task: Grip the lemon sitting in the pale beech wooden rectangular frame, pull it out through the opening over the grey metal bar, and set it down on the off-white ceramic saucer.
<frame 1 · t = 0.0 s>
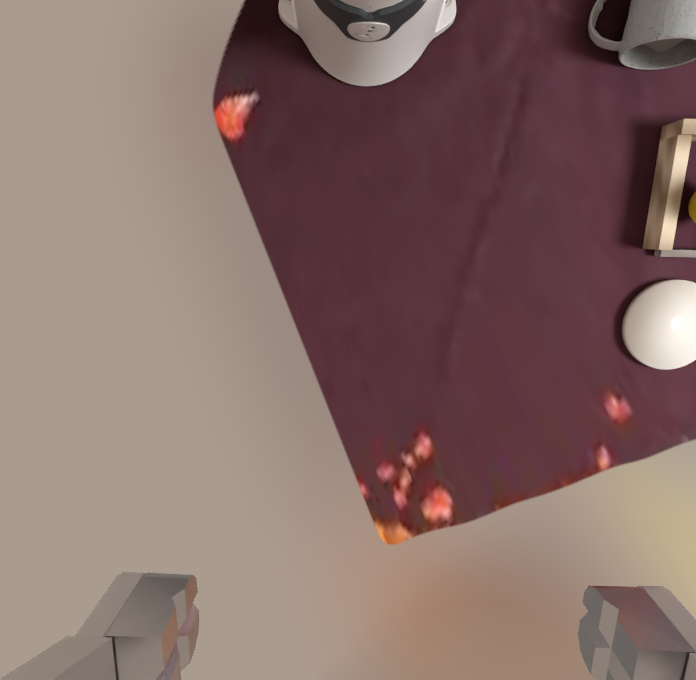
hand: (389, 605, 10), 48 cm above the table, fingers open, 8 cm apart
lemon: (695, 206, 54), resting in wooden rectangular frame
saucer: (666, 324, 57), on the table
ceramic mug: (633, 31, 50), on the table
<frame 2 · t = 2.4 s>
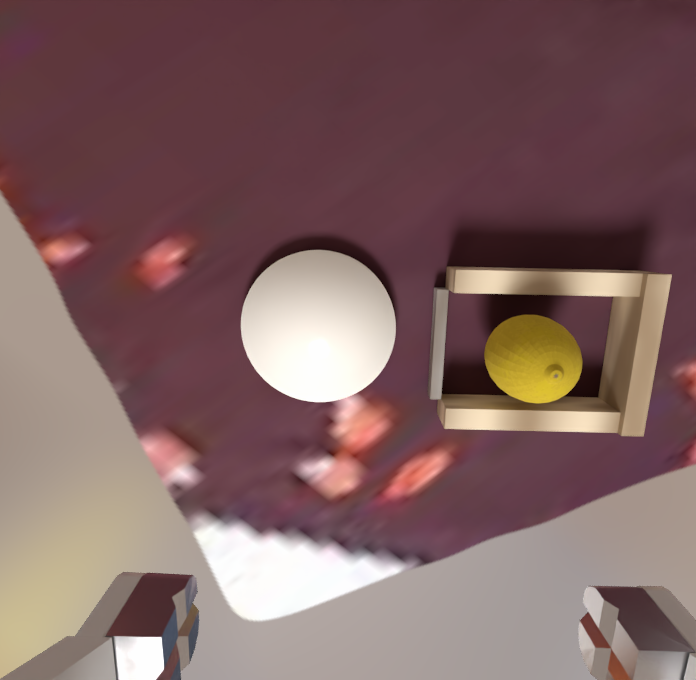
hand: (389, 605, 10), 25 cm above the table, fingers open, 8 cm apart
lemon: (508, 342, 34), resting in wooden rectangular frame
saucer: (319, 326, 34), on the table
wooden rectangular frame: (523, 343, 34), on the table
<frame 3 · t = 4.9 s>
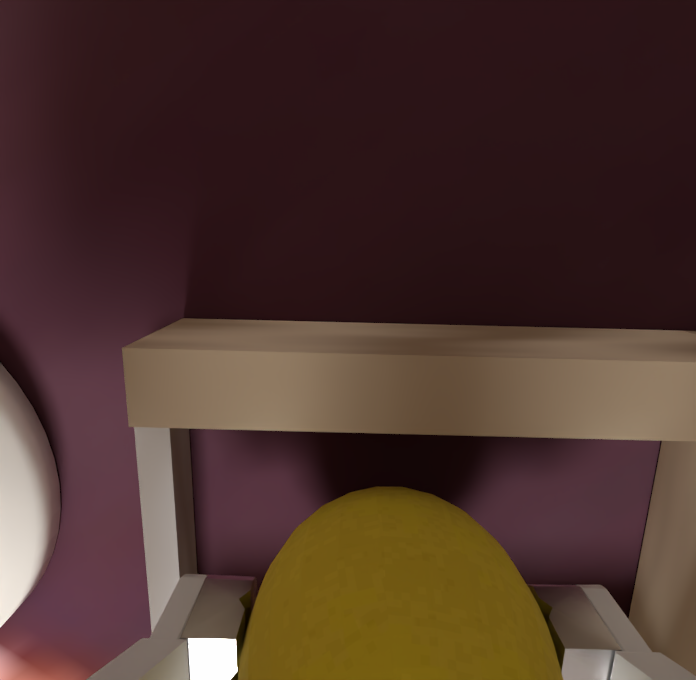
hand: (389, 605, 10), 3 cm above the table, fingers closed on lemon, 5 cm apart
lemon: (380, 520, 13), resting in wooden rectangular frame, touching gripper
wooden rectangular frame: (418, 527, 12), on the table
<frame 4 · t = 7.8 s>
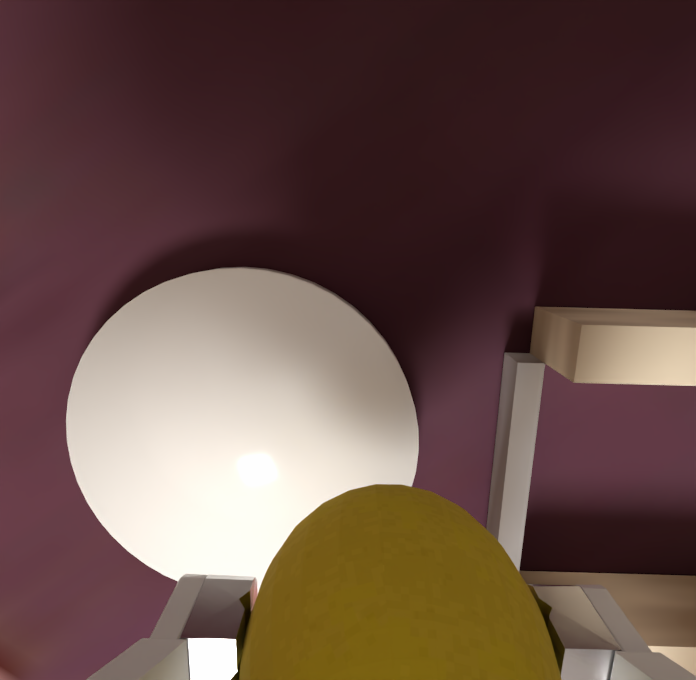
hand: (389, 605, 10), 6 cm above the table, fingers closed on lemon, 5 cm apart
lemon: (380, 518, 13), point 3 cm above the table, touching gripper
saucer: (249, 433, 15), on the table
wooden rectangular frame: (694, 472, 16), on the table
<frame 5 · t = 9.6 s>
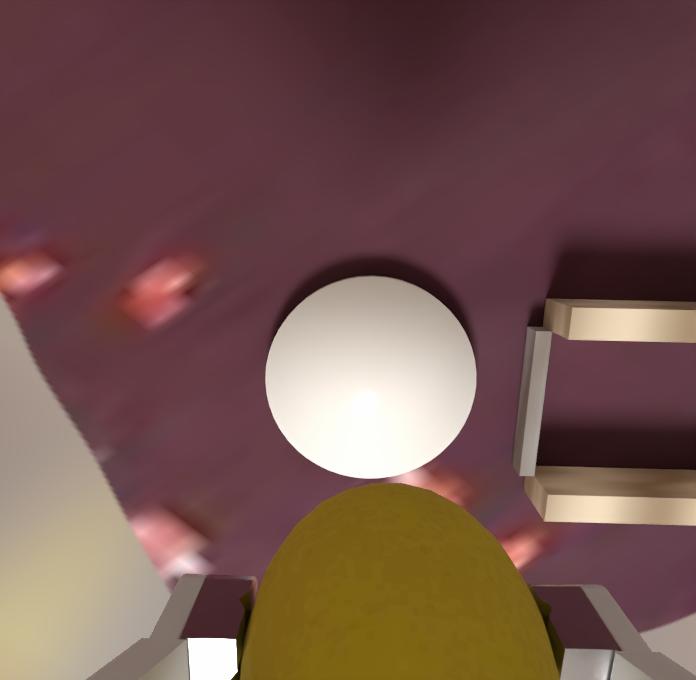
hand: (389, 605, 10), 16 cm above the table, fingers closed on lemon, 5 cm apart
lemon: (380, 517, 13), point 13 cm above the table, touching gripper
saucer: (369, 377, 25), on the table
wooden rectangular frame: (644, 401, 25), on the table
when the fingers open (5 cm above the table, at t = 11.1 s): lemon stays where it is, resting on saucer.
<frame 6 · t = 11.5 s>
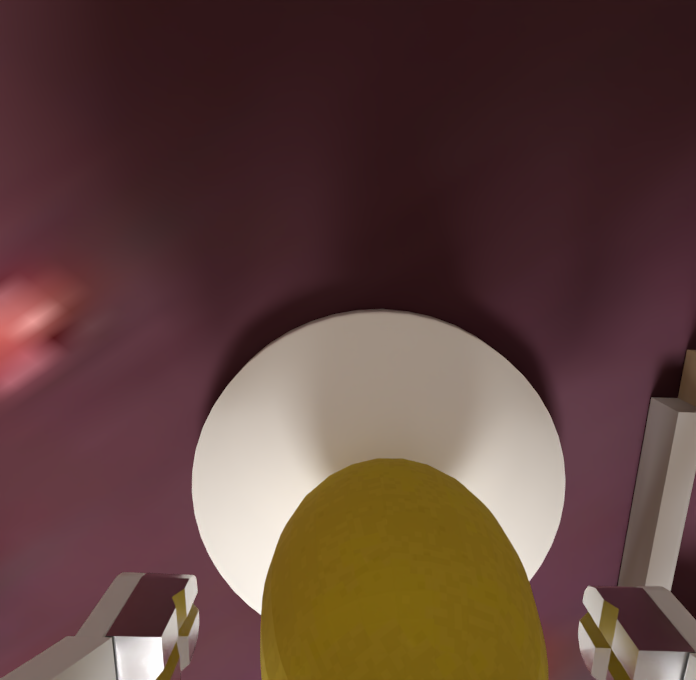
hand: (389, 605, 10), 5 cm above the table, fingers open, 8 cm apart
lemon: (380, 494, 14), point 1 cm above the table, touching saucer
saucer: (375, 480, 15), on the table
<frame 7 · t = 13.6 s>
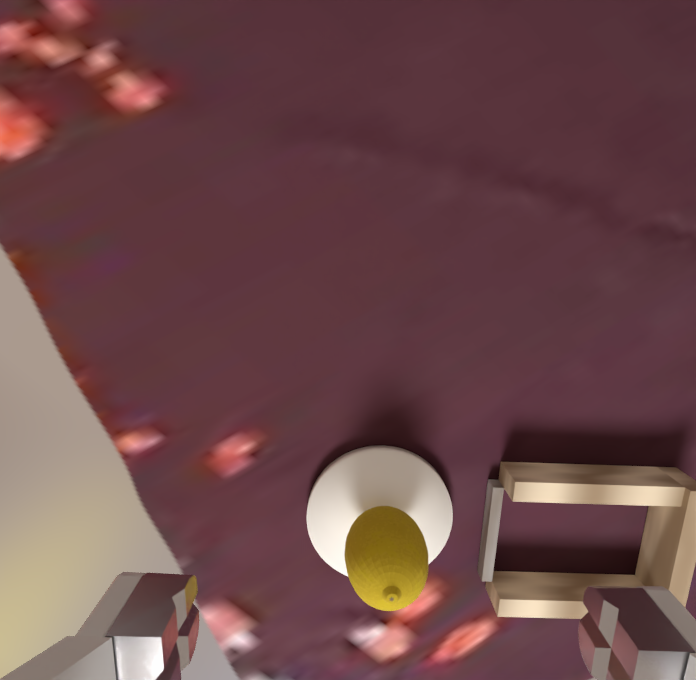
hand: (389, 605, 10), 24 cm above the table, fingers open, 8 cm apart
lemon: (380, 517, 35), point 1 cm above the table, touching saucer
saucer: (378, 511, 36), on the table
wooden rectangular frame: (568, 528, 36), on the table
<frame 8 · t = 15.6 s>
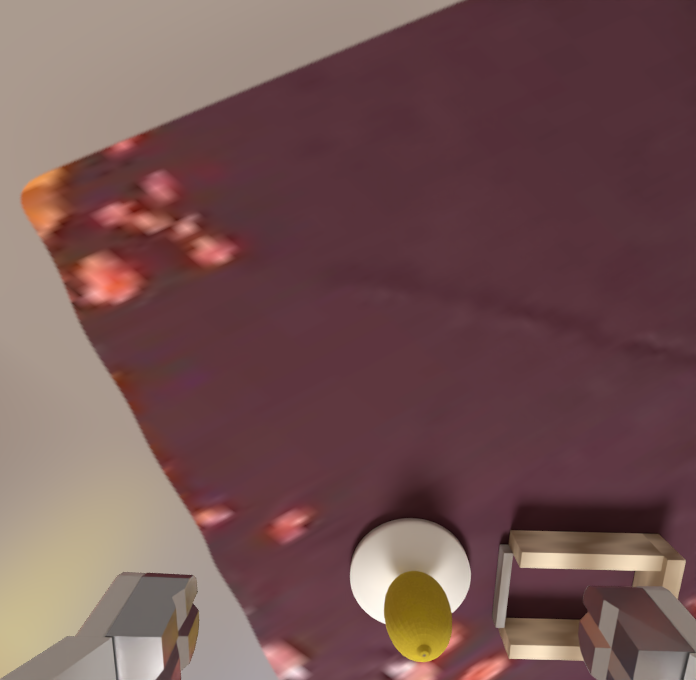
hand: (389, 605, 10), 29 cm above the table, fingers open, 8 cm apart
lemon: (411, 576, 42), point 1 cm above the table, touching saucer
saucer: (409, 570, 43), on the table
wooden rectangular frame: (568, 583, 43), on the table
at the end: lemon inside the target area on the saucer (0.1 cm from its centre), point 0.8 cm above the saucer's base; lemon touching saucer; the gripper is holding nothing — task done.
